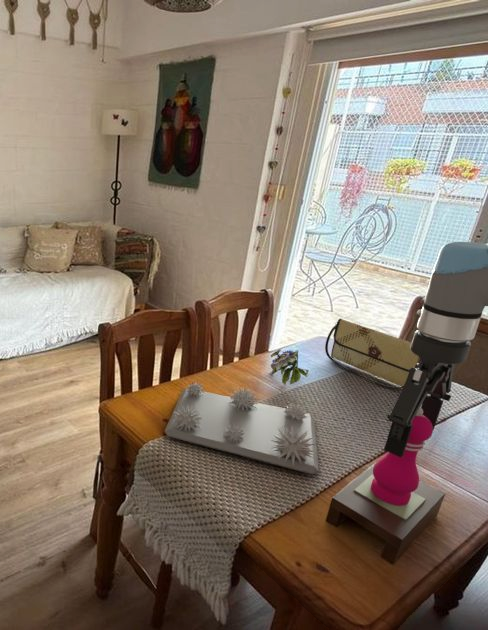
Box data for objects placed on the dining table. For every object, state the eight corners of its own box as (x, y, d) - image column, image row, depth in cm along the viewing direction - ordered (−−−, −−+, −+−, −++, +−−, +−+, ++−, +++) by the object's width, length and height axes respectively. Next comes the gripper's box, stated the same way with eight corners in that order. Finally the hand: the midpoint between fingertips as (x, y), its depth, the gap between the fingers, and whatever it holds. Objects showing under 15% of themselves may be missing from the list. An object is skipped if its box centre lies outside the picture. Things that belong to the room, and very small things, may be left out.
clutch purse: (317, 359, 155) (326, 319, 150) (329, 355, 158) (339, 316, 153) (409, 399, 130) (424, 353, 125) (422, 393, 133) (437, 349, 128)
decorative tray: (312, 422, 119) (320, 390, 116) (317, 484, 97) (326, 447, 94) (183, 393, 133) (186, 364, 130) (162, 441, 112) (165, 408, 108)
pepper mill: (364, 494, 86) (390, 407, 79) (371, 476, 91) (397, 392, 84) (409, 514, 82) (441, 423, 74) (414, 493, 86) (445, 406, 79)
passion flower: (270, 388, 147) (268, 352, 150) (307, 388, 143) (304, 352, 146) (271, 383, 137) (269, 346, 140) (311, 384, 133) (307, 345, 136)
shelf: (436, 516, 89) (446, 492, 87) (393, 564, 79) (402, 539, 76) (372, 481, 98) (379, 458, 96) (325, 520, 88) (332, 496, 86)
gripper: (444, 313, 83) (414, 409, 91) (384, 344, 70) (355, 453, 78) (496, 325, 78) (459, 427, 85) (441, 362, 65) (403, 477, 72)
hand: (409, 439), depth 82 cm, fingers open, 13 cm apart
